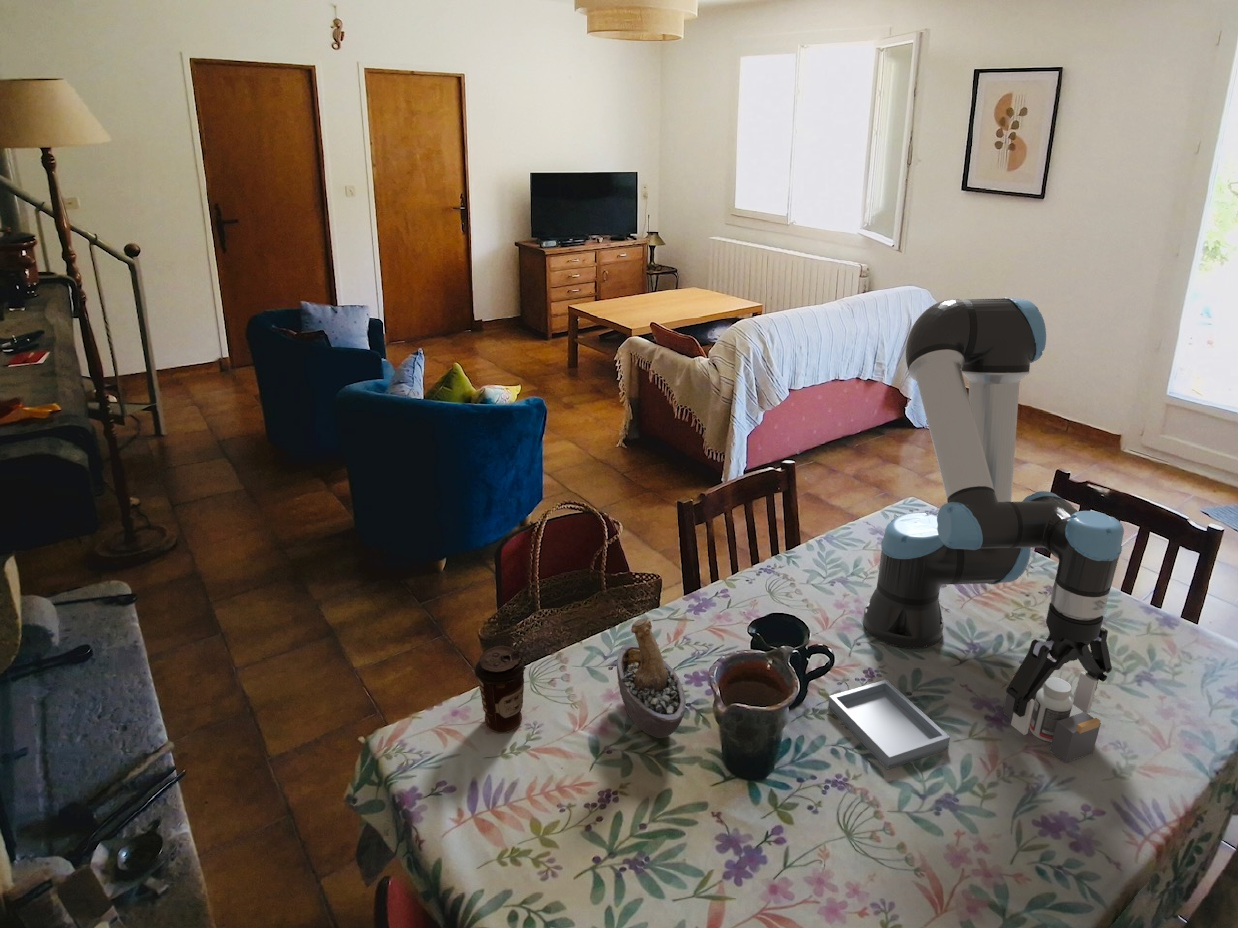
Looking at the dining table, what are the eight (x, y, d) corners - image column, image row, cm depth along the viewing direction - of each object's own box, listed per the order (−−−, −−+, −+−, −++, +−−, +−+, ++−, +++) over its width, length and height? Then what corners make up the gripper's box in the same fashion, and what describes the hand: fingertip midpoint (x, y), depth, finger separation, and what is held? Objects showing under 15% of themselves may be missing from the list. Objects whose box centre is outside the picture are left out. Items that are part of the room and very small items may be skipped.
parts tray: (828, 707, 147) (829, 695, 146) (884, 690, 151) (886, 679, 150) (887, 769, 133) (889, 757, 132) (947, 749, 137) (950, 736, 136)
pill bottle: (1070, 735, 140) (1083, 687, 136) (1052, 747, 137) (1064, 699, 133) (1040, 717, 144) (1051, 670, 140) (1021, 729, 141) (1032, 681, 137)
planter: (628, 680, 154) (627, 586, 146) (712, 710, 146) (716, 612, 138) (584, 728, 142) (582, 629, 134) (673, 764, 134) (676, 660, 126)
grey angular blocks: (1000, 710, 146) (1007, 676, 143) (1026, 702, 148) (1034, 668, 145) (1067, 764, 134) (1077, 728, 131) (1095, 754, 136) (1105, 719, 133)
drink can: (539, 713, 146) (535, 650, 140) (514, 744, 139) (509, 679, 134) (496, 699, 149) (491, 638, 144) (469, 728, 142) (463, 665, 137)
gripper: (1035, 639, 123) (1010, 753, 132) (1155, 603, 132) (1125, 713, 140) (996, 613, 130) (974, 723, 138) (1113, 581, 138) (1086, 687, 147)
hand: (1050, 718), depth 139 cm, fingers open, 13 cm apart
